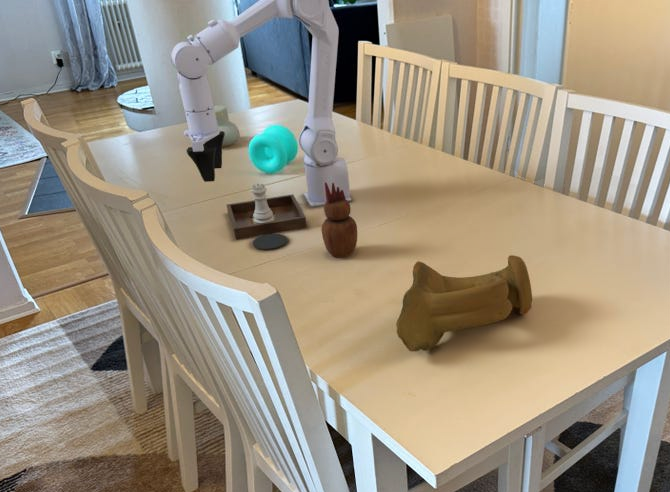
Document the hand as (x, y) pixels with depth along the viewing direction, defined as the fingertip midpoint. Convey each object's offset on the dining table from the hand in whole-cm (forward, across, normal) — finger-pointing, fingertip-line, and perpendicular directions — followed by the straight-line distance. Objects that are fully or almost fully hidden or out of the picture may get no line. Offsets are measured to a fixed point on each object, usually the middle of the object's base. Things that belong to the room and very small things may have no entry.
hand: (213, 174), depth 144 cm
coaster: (+10, +13, +12) cm, 21 cm away
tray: (+10, +2, +10) cm, 14 cm away
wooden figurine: (+10, +20, +27) cm, 35 cm away
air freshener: (+10, -53, -10) cm, 55 cm away
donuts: (+10, -31, +8) cm, 34 cm away
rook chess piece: (+10, +2, +9) cm, 14 cm away
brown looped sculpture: (+10, +49, +48) cm, 70 cm away
